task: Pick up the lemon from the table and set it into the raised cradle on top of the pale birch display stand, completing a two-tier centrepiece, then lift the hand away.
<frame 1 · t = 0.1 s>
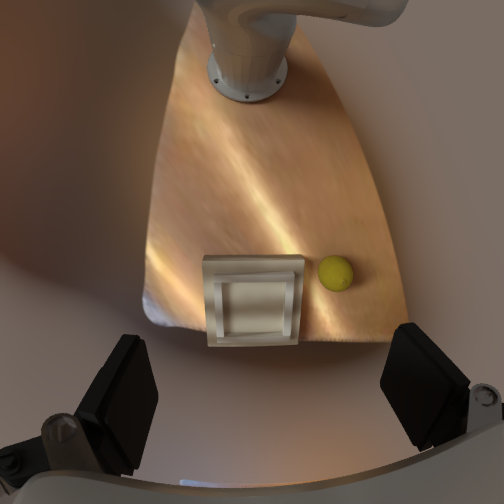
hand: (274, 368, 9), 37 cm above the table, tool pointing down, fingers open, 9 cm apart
stand: (252, 298, 49), on the table
lemon: (327, 264, 48), on the table
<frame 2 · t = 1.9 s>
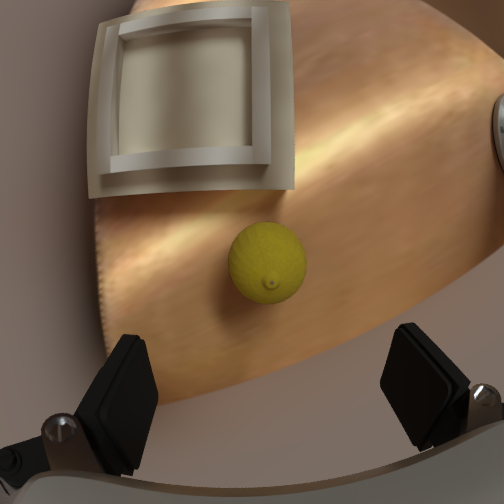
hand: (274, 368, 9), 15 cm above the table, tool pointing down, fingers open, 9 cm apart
stand: (189, 95, 20), on the table
lemon: (263, 245, 24), on the table
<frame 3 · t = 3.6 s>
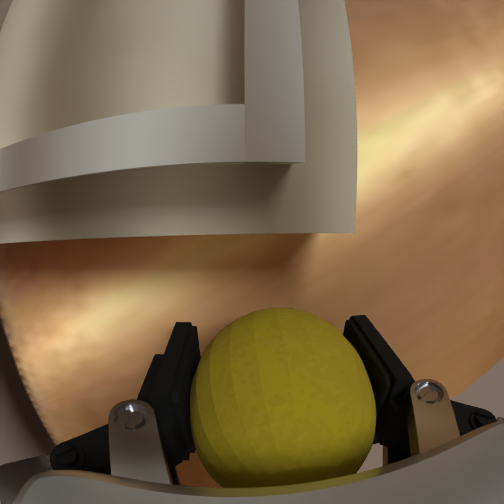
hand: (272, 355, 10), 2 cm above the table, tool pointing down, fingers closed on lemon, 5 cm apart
stand: (120, 33, 8), on the table
lemon: (268, 331, 12), on the table, touching gripper
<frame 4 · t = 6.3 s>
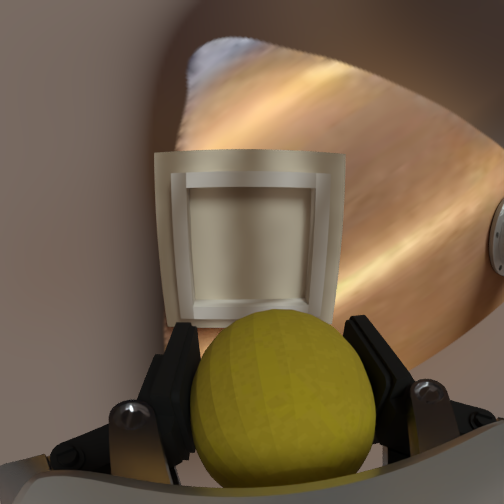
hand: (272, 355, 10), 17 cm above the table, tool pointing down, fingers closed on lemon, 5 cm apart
stand: (249, 237, 27), on the table
lemon: (268, 332, 12), point 16 cm above the table, touching gripper
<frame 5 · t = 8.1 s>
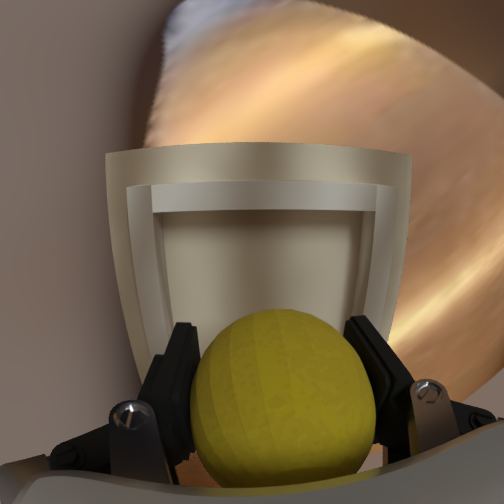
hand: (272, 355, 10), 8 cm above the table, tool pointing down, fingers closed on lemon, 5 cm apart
stand: (260, 280, 18), on the table
lemon: (268, 332, 12), point 6 cm above the table, touching gripper
when the fingers open (6 cm above the table, at t = 9.4 s): lemon drops 1 cm, resting on stand.
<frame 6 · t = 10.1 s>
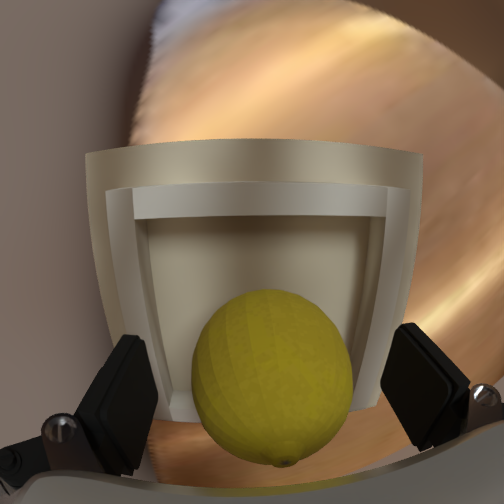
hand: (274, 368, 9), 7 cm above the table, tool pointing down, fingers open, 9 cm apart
stand: (257, 290, 16), on the table
lemon: (261, 314, 13), point 3 cm above the table, touching stand
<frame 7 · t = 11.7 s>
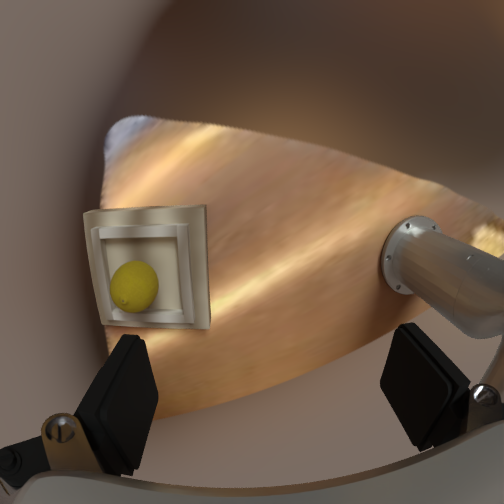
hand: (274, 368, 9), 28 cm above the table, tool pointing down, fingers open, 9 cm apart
stand: (150, 265, 37), on the table
lemon: (144, 272, 34), point 3 cm above the table, touching stand
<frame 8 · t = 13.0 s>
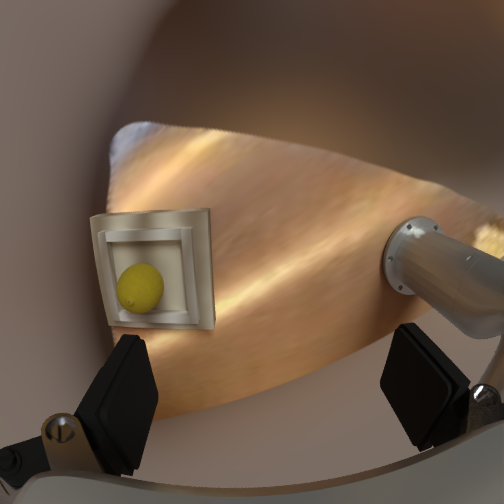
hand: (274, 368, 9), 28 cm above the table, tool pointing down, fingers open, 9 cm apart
stand: (156, 267, 38), on the table
lemon: (150, 275, 35), point 3 cm above the table, touching stand
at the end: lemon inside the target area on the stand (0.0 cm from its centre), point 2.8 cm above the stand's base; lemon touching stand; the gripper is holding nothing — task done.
